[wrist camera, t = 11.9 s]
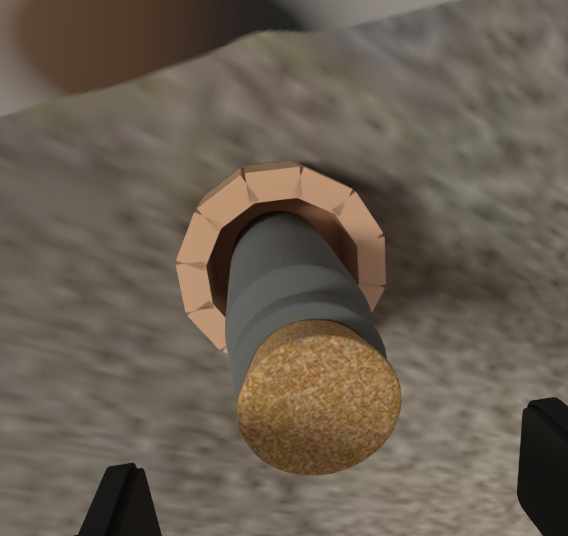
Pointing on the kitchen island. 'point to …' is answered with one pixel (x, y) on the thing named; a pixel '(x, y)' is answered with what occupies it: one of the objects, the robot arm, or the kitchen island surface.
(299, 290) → the bottle
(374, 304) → the segmented wooden bowl
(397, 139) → the kitchen island surface
